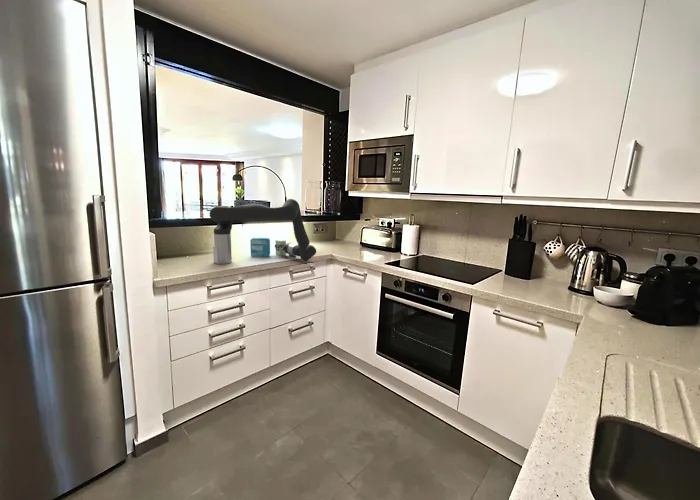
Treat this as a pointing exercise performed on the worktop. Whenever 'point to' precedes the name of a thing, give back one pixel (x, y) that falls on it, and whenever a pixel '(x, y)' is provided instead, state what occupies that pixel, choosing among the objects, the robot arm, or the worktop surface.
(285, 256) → the chute
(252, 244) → the data package
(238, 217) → the robot arm
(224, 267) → the worktop surface
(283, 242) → the sage block
